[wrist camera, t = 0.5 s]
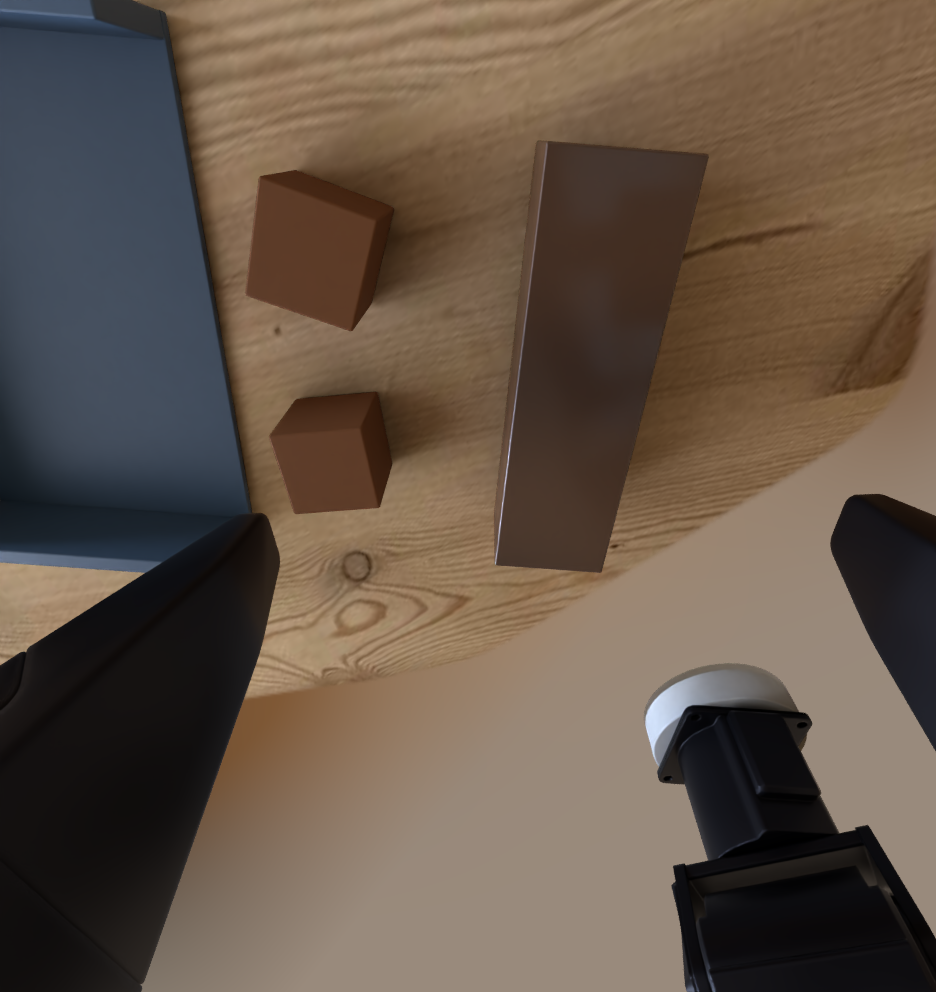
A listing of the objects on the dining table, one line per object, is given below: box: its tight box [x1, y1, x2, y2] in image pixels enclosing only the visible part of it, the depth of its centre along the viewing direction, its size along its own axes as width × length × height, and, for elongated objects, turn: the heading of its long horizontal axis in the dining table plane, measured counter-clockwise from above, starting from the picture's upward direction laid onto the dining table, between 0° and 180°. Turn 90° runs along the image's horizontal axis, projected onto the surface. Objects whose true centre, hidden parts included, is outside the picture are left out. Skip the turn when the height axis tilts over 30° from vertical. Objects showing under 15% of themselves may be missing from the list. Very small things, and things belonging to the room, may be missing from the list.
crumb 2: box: [269, 392, 392, 514], centre depth 19 cm, size 3×3×3 cm
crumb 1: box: [245, 170, 394, 331], centre depth 16 cm, size 3×3×3 cm
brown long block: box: [494, 141, 709, 573], centre depth 17 cm, size 12×4×4 cm, turn 176°
